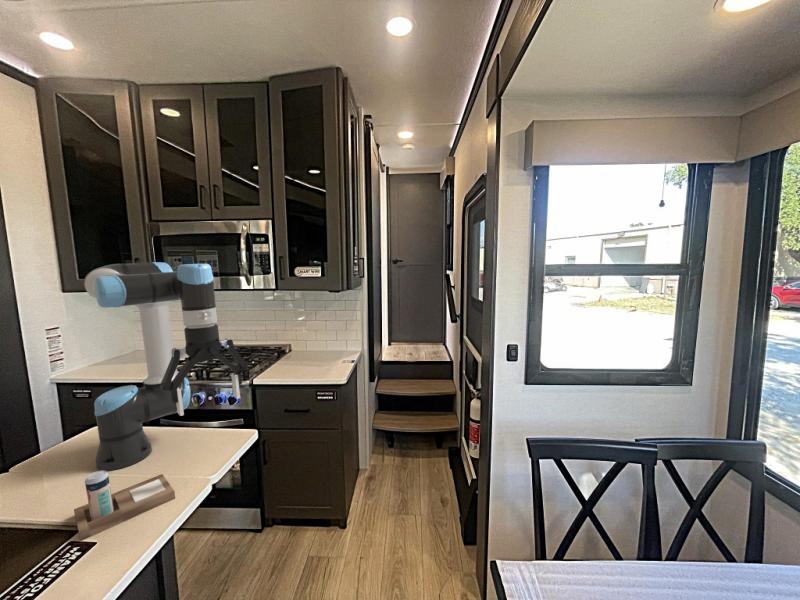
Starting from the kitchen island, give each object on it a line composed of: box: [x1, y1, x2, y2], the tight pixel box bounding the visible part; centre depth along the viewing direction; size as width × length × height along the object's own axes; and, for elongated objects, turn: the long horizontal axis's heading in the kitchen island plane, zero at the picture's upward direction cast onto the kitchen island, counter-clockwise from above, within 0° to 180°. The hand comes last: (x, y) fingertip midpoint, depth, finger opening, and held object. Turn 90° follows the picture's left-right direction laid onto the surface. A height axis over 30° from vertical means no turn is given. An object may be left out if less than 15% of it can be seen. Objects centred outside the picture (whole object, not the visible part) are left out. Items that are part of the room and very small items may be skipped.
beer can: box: [84, 470, 115, 522], centre depth 95 cm, size 5×5×12 cm
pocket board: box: [73, 473, 176, 542], centre depth 99 cm, size 12×20×2 cm, turn 136°
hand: (210, 405), depth 96 cm, fingers open, 13 cm apart
